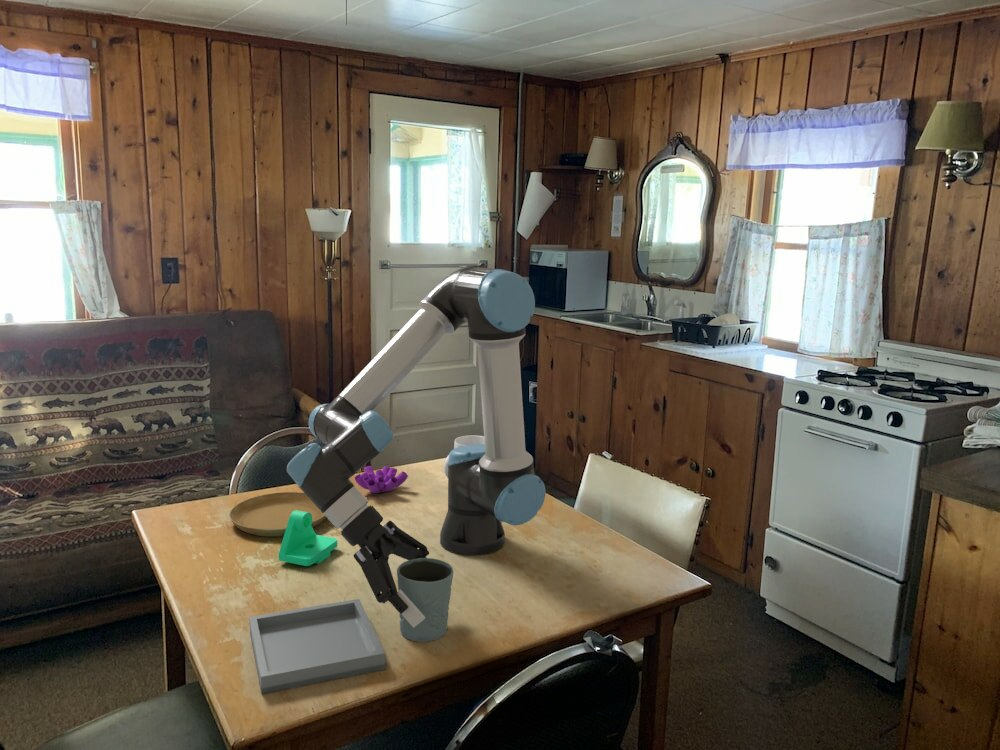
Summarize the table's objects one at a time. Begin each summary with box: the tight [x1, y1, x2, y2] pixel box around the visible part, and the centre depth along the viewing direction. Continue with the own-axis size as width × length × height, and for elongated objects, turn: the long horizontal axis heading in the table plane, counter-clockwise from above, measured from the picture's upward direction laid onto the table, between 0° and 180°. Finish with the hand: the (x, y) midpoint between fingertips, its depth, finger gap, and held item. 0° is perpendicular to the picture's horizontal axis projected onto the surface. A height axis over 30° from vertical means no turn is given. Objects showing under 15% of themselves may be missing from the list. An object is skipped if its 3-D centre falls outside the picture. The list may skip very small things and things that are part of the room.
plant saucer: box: [228, 491, 327, 538], centre depth 193 cm, size 24×24×3 cm
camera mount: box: [278, 510, 338, 567], centre depth 172 cm, size 12×8×10 cm, turn 160°
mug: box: [443, 434, 485, 479], centre depth 220 cm, size 15×11×13 cm
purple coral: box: [354, 465, 409, 494], centre depth 214 cm, size 11×15×10 cm
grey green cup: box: [396, 557, 454, 643], centre depth 143 cm, size 10×10×12 cm
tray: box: [248, 598, 386, 695], centre depth 136 cm, size 20×20×3 cm
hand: (432, 604), depth 142 cm, fingers open, 13 cm apart
